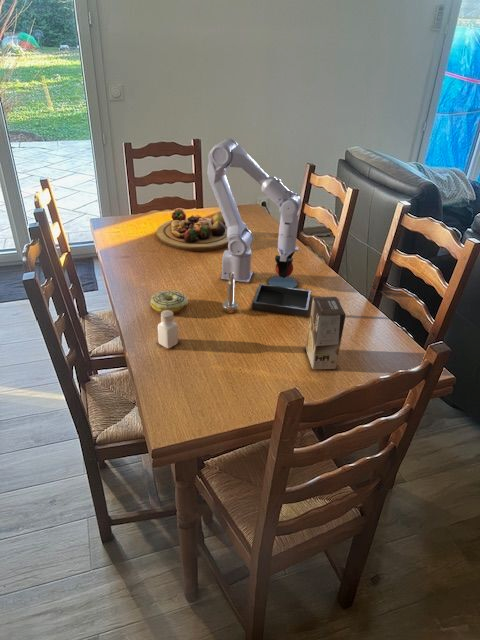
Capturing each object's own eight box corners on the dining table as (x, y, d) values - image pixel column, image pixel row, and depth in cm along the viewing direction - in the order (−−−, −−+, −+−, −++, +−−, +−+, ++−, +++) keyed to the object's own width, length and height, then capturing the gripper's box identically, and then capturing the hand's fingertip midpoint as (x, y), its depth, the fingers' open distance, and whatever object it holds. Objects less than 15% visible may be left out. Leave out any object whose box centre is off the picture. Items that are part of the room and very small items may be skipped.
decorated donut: (194, 307, 141) (194, 296, 139) (166, 320, 134) (166, 309, 132) (171, 295, 146) (171, 284, 144) (144, 307, 140) (143, 296, 138)
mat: (266, 288, 153) (266, 287, 153) (270, 275, 161) (270, 274, 161) (295, 292, 151) (295, 291, 151) (298, 279, 159) (298, 278, 159)
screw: (240, 314, 139) (224, 315, 137) (235, 306, 142) (220, 307, 141) (241, 274, 132) (225, 276, 130) (237, 267, 135) (221, 268, 134)
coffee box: (336, 369, 118) (347, 315, 109) (311, 370, 117) (320, 315, 109) (327, 348, 126) (337, 296, 117) (304, 348, 125) (311, 296, 116)
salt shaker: (168, 337, 127) (167, 307, 122) (179, 343, 125) (178, 313, 119) (157, 344, 124) (155, 313, 119) (168, 350, 122) (166, 319, 117)
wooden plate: (147, 227, 194) (145, 207, 190) (217, 218, 206) (218, 200, 202) (170, 257, 170) (170, 236, 165) (249, 245, 182) (250, 225, 177)
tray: (252, 309, 141) (252, 302, 140) (259, 290, 152) (259, 283, 150) (306, 317, 139) (307, 310, 137) (310, 297, 149) (311, 290, 148)
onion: (291, 283, 152) (293, 260, 148) (273, 280, 153) (275, 258, 149) (292, 275, 157) (295, 253, 153) (275, 273, 158) (277, 251, 154)
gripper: (298, 243, 140) (293, 284, 147) (302, 227, 152) (298, 265, 159) (274, 241, 141) (271, 281, 148) (281, 224, 153) (277, 262, 160)
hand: (283, 272), depth 154 cm, fingers closed on onion, 6 cm apart
